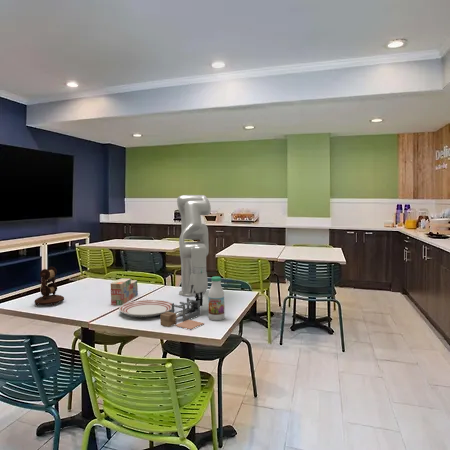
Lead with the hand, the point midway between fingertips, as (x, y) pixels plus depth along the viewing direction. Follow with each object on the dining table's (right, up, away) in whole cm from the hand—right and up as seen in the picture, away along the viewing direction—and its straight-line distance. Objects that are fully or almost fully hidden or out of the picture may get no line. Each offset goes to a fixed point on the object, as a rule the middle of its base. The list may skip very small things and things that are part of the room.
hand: (199, 305), depth 182 cm
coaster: (-3, -5, -20) cm, 20 cm away
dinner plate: (-27, -4, +1) cm, 27 cm away
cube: (-13, -5, -18) cm, 23 cm away
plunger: (-6, -3, -9) cm, 11 cm away
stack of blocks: (-44, -2, +23) cm, 50 cm away
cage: (-6, -4, -8) cm, 10 cm away
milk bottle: (+9, -4, -10) cm, 14 cm away
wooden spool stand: (-84, -3, +16) cm, 86 cm away
